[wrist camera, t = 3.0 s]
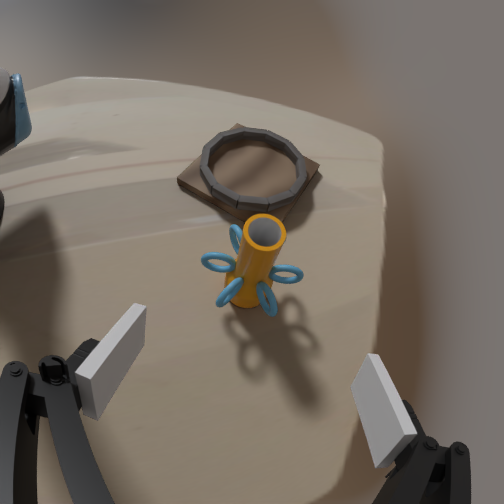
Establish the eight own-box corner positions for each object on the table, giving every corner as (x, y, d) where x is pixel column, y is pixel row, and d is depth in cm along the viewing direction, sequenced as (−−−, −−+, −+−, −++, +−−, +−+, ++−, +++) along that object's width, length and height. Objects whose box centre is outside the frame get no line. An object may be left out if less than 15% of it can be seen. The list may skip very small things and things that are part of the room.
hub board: (177, 183, 47) (176, 169, 44) (236, 128, 55) (238, 115, 52) (271, 237, 45) (276, 225, 42) (317, 170, 53) (323, 157, 50)
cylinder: (194, 316, 38) (186, 271, 24) (209, 247, 43) (211, 178, 29) (285, 331, 38) (326, 295, 25) (292, 262, 43) (327, 201, 30)
